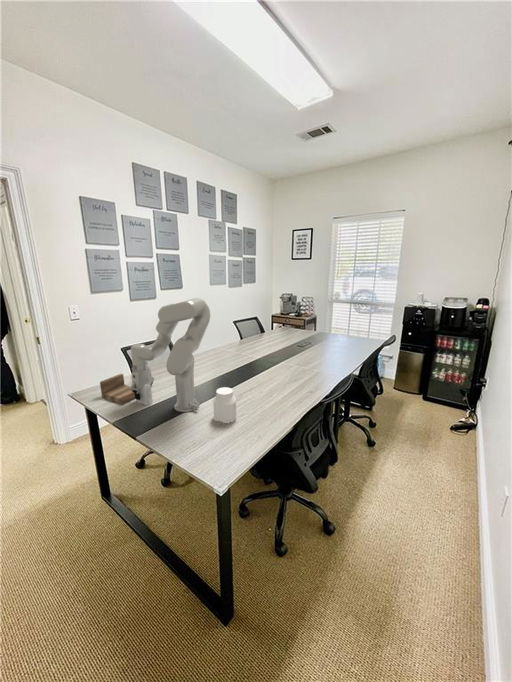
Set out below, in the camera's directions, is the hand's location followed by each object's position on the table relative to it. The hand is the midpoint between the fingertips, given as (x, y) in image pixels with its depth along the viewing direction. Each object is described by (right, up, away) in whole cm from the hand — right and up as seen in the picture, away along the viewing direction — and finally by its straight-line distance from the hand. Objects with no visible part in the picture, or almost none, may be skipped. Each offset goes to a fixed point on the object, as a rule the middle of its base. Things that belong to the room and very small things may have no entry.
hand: (143, 396), depth 156 cm
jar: (+47, -9, -14) cm, 50 cm away
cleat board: (-14, -2, +8) cm, 16 cm away
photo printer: (0, -4, +1) cm, 4 cm away
